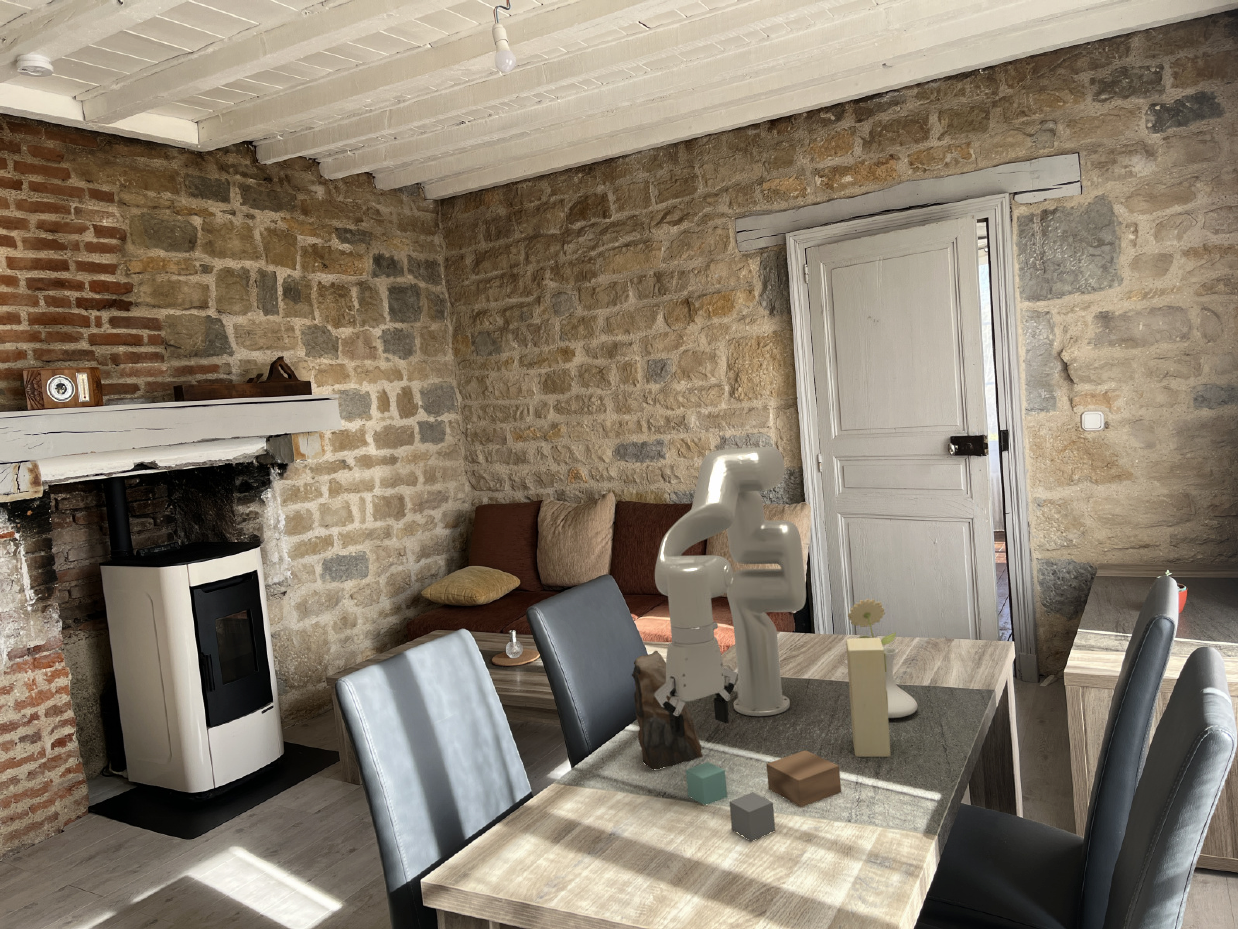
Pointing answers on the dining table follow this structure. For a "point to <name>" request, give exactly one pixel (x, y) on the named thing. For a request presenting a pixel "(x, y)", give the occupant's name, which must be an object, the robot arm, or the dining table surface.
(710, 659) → the robot arm
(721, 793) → the teal cube
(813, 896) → the dining table surface
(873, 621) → the flower in vase
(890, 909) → the dining table surface
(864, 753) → the tall cream block
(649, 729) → the brown rock
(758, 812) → the grey cube
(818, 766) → the walnut block
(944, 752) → the dining table surface
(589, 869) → the dining table surface
